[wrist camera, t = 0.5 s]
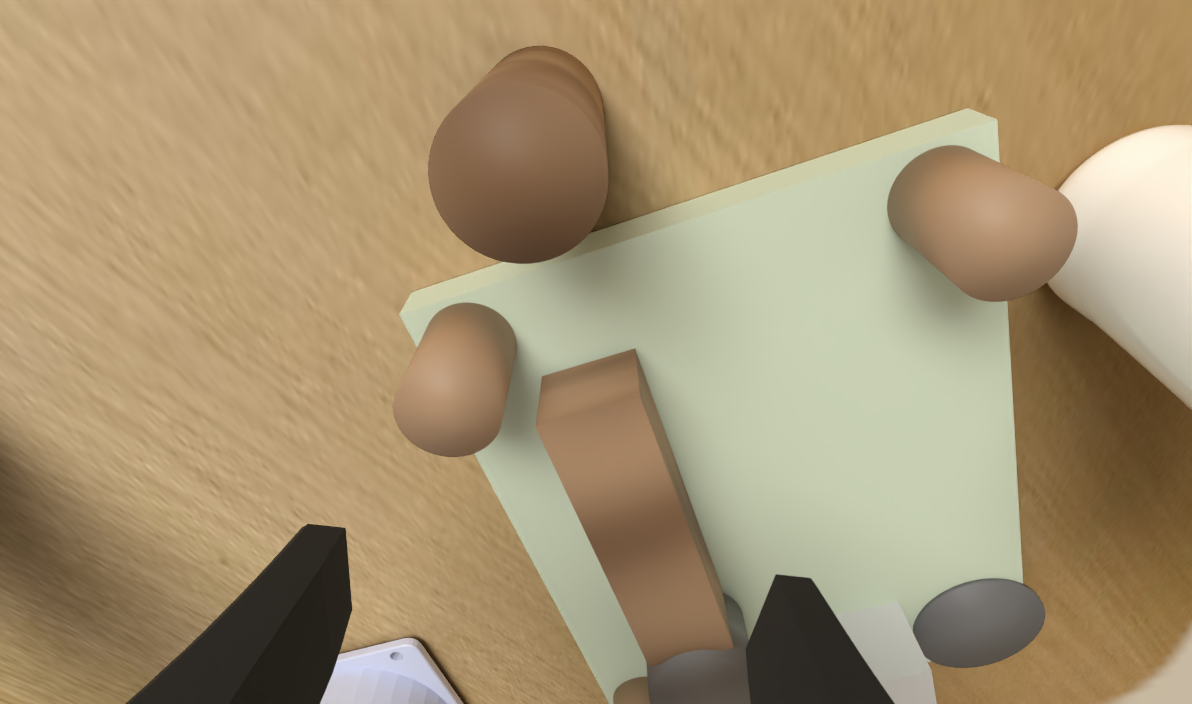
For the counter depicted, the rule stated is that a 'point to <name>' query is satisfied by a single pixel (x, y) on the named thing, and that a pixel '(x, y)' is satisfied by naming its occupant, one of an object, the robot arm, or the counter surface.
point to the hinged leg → (644, 529)
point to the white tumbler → (1136, 250)
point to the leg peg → (523, 158)
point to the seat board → (783, 392)
